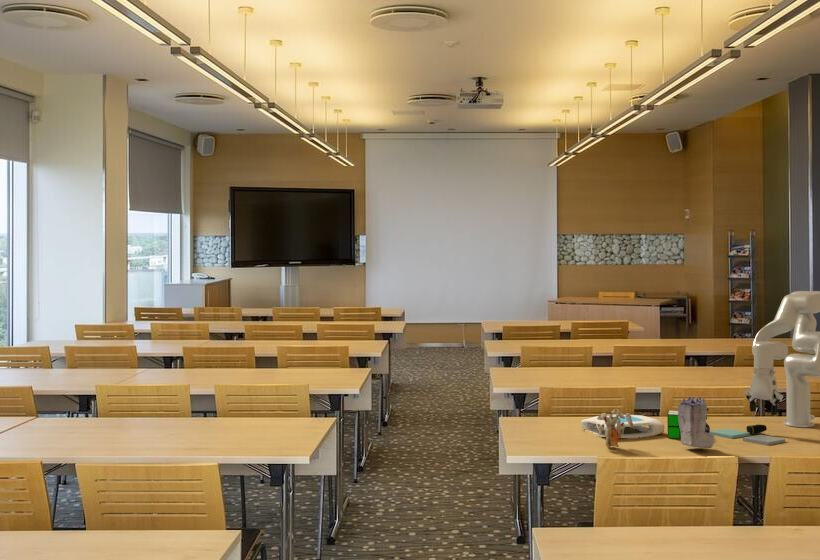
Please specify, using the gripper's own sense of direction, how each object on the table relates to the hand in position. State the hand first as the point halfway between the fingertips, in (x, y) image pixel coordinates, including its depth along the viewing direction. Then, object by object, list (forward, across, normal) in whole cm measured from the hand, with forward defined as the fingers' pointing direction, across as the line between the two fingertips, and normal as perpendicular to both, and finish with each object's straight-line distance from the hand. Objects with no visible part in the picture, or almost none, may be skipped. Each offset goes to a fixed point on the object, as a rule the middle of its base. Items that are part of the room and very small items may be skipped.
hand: (763, 412), depth 338 cm
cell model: (+10, -1, +44) cm, 46 cm away
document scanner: (+10, +36, +46) cm, 59 cm away
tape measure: (+9, 0, -1) cm, 9 cm away
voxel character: (+10, +17, +70) cm, 73 cm away
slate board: (+9, -8, +12) cm, 17 cm away
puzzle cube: (+10, +17, +32) cm, 37 cm away
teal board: (+9, +8, +12) cm, 17 cm away
